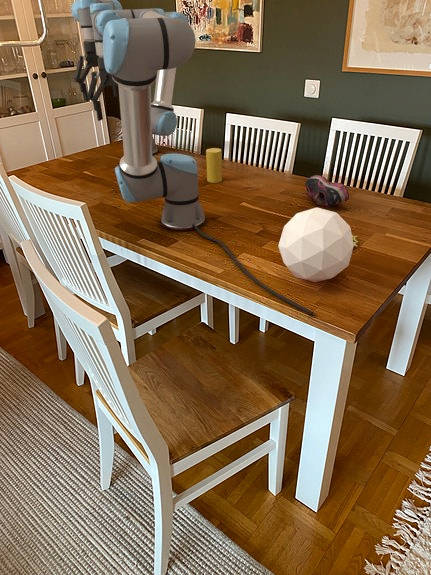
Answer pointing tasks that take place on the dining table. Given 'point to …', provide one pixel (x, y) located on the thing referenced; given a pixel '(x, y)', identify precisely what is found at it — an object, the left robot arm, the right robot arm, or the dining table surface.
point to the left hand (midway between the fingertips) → (101, 98)
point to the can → (214, 165)
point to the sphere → (316, 244)
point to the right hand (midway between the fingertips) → (117, 120)
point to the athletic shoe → (326, 191)
